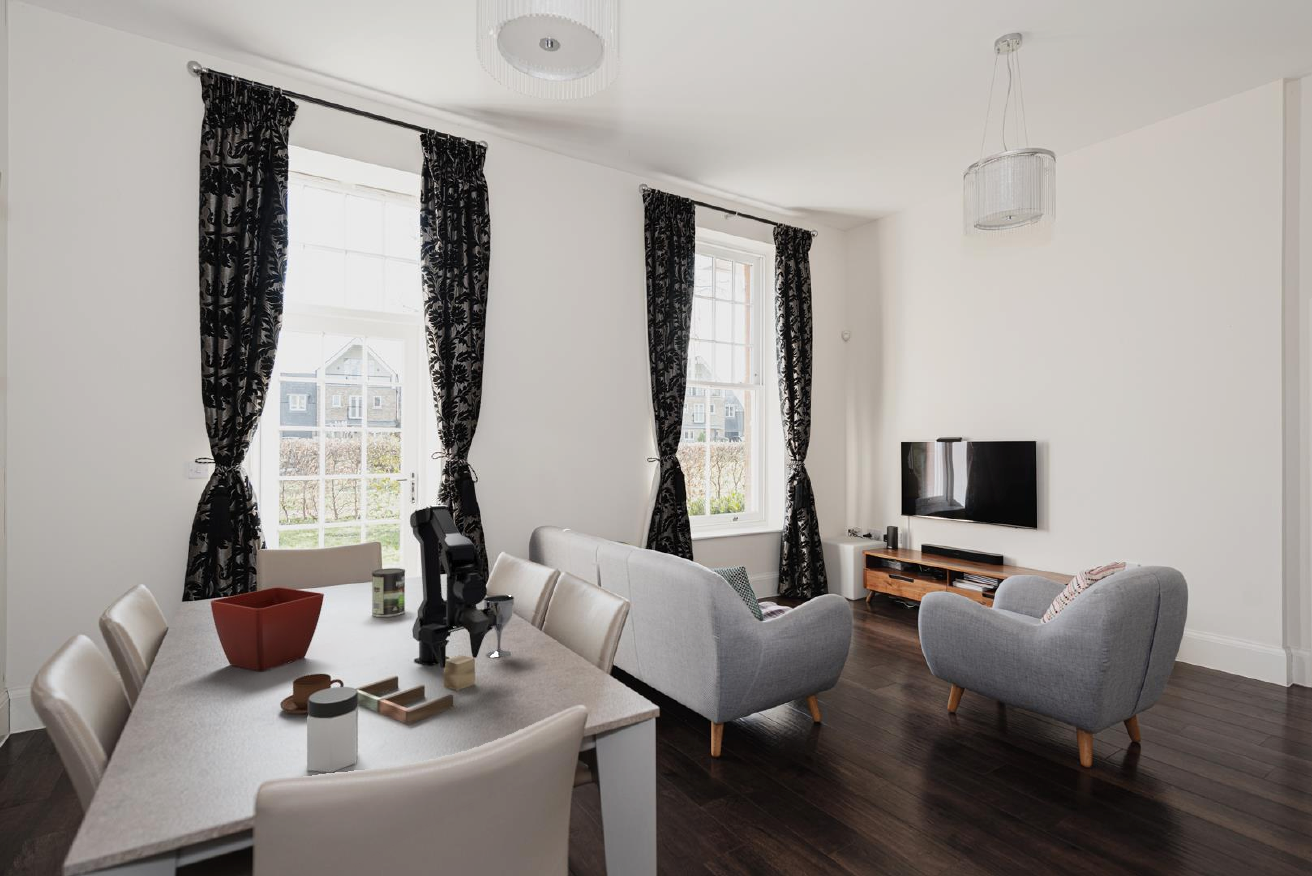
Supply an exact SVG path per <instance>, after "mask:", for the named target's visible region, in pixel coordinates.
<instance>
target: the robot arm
mask: <svg viewBox="0 0 1312 876" xmlns="http://www.w3.org/2000/svg"><path fill="white" fill-rule="evenodd" d="M409 523H410V526H411V529H412V534H413V537H414V538H416V540H417V542H418V543H419V546H420V547H419V548H420V562H421V563H420V565H421V581H422V596H423V597H422V598H423V599H422V601H421V603H420V606H419V607H418V609H417V617H416V618H415V621H414V624H413V627H412V638H413V639H415V641H417V642H418V656H419V657H417V658H413V662H415V663H420V664H422V665H426V666H433V665H435V664H438V665H439V666H440V668H442V669H444V668H445V663H446V659H449V658H450V657H449V656H446V655H447V650H446V649H447V645H448V644H449V642H450V640H448V639H447V638H448V637H451V634H452V633H454V632H458V631H460V630H464V629H465V630H466V631H467V632H468V635H469V643H470V649H471V651H470V652H471V656H472V658H474V659H476V658H477V657H478V655H479V651H480V649H481V646H482V644H483V640H484V638H485V637H486V634H488V633H489V632H490V631H492V630H494V628H493V627H492V626H496V625H497V617H496V615H495V614H494V609H492V608H491V607H488V608H484V607H483V609H482V608H480V609H479V608H477V605H478V604H480V603H482V602H484V598H486V597H487V593H488V588H487V586H486V584H485V582H484V581H482V580H481V579H479V573H480V574H481V573H483V569H482V568H483V562H482V559H481V557H480V554H479V552H478V549H477V546H475V544H474V543H473V542H472V540H470V538H469V537H467V536H463V535H462V534H461V533H460V531H459V528H458V527H457V525H456V523H455V522H454V520H453V518H452V515H451V514H450V510H449V505H445V504H436V505H435V504H433V505H429V506H426V507H424V508H421V509H415V510H414V512H413V513H411V514H410V517H409ZM439 542H440V544H441V546H442V549H441V552H440V546H439V545H440V544H439ZM440 560H441V562H440ZM441 564H442V566H443V569H444V571H445V575H446V600H445V599H444V598H443V593H442V579H441Z"/></svg>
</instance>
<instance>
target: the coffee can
mask: <svg viewBox="0 0 1312 876" xmlns="http://www.w3.org/2000/svg"><path fill="white" fill-rule="evenodd" d="M405 574H406V570H405V568H399V567H395V568H391V567H389V568H382V569H381V568H380V569H376V570H373V571H372V572H371V575H372V576H371V577H372V579H371V583H372V584H371V587H372V590H371V593H372V594H371V595H372V597H371V599H372V602H371V603H372V604H371V605H372V611H371V615H372V616H373V617H376V618H389V617H391V618H392V617H397V616H400V614H401V615H403V614H405V612H406V611H405V610H406V608H405V607H406V606H405V605H406V604H405V603H406V601H405V599H406V598H405V597H406V596H405V595H406V594H405V593H406V591H405V590H406V589H405V587H406V585H405V583H406V582H405V581H406V579H405V578H406V577H405V576H406V575H405Z"/></svg>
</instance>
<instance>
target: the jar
mask: <svg viewBox="0 0 1312 876" xmlns="http://www.w3.org/2000/svg"><path fill="white" fill-rule="evenodd" d="M307 704H308V705H307V706H308V707H307V708H308V714H307V718H306V740H307V741H306V770H307V771H311V772H321V773H329V772H331V773H333V772H336V771H339V770H342V769H344V768H346V767H350V766H352V765H355V764H356V763H357V759H358V752H359V737H358V736H359V722H358V720H359V704H358V691H357V690H356V688H354V687H349V686H344V687H340V686H337V687H336V686H335V687H331V688H328V689H324V690H321V691H318V692H315V693H314V694H312V695H311V696H309V698H308V703H307Z"/></svg>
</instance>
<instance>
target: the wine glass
mask: <svg viewBox="0 0 1312 876" xmlns="http://www.w3.org/2000/svg"><path fill="white" fill-rule="evenodd" d="M488 607H491V608H492V609H494V614H495V615H496V617H497V625H496V626H492V627H493V630H494V631H495V634H496V640H497V649H494V650H491V651H487V652H486V653H485V657H486V656H487V658H490V659H502V658H501V657H504V658H507V657H506V656H508V657H511V656H512V655H511V652H512V651H511V650H508V649H502V648H501V641H502V633H503V631H504V629H505V628H506V626H507V625H508V624H509V622H510V621H511V620H512V617H513V613H514V610H515V609H514V608H515V596H513V595H508V594H494V595H489V596H485V598H484V600H483V609H484V608H488Z"/></svg>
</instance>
